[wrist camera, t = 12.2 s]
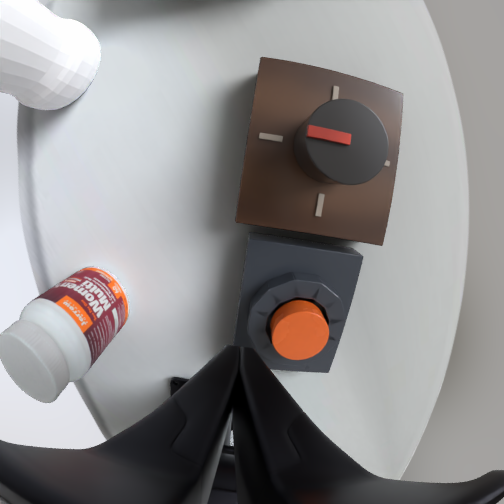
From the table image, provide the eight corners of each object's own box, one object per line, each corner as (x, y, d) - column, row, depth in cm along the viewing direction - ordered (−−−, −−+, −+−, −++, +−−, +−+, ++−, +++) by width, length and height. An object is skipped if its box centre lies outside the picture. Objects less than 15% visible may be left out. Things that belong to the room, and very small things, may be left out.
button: (316, 348, 19) (321, 362, 17) (266, 343, 19) (267, 358, 17) (328, 302, 18) (335, 314, 16) (275, 296, 18) (277, 308, 16)
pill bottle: (136, 277, 21) (57, 353, 11) (128, 338, 23) (70, 424, 12) (75, 255, 21) (-16, 307, 10) (73, 315, 23) (2, 381, 12)
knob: (364, 123, 16) (395, 110, 12) (356, 189, 17) (385, 193, 13) (298, 108, 16) (312, 87, 11) (288, 176, 17) (300, 176, 12)
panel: (366, 237, 21) (383, 246, 18) (237, 216, 20) (234, 222, 17) (386, 102, 18) (404, 92, 15) (259, 72, 18) (260, 55, 15)
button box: (322, 356, 23) (333, 385, 19) (232, 348, 23) (229, 377, 19) (352, 247, 21) (372, 262, 17) (249, 231, 21) (248, 244, 17)
